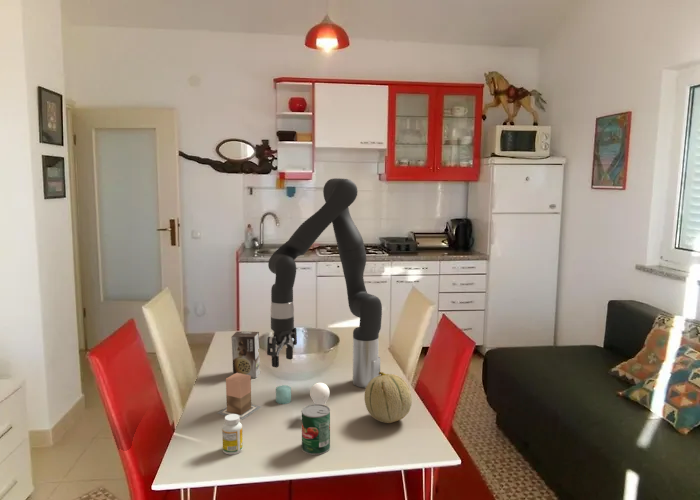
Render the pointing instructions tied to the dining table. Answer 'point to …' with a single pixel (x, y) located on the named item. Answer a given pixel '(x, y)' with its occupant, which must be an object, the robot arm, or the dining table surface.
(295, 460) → the dining table surface
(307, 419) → the canned tomato
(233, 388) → the terracotta block
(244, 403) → the walnut block
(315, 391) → the lightbulb
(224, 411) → the mat
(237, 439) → the supplement bottle
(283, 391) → the mint green capsule
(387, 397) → the cantaloupe
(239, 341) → the coffee box
